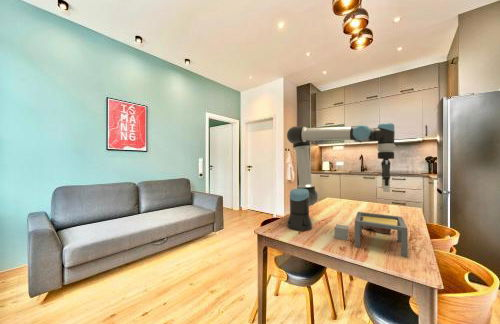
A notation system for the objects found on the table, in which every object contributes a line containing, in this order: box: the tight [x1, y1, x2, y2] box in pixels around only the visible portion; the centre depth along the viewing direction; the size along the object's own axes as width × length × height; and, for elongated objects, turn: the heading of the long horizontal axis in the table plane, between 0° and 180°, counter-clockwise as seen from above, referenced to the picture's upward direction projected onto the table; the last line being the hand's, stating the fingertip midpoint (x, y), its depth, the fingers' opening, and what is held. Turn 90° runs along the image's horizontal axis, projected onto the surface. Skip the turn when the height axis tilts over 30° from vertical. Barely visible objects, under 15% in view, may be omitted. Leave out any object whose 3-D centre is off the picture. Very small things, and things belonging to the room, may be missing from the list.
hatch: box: [363, 216, 397, 226], centre depth 98 cm, size 14×14×1 cm
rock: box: [362, 216, 392, 234], centre depth 117 cm, size 16×11×15 cm
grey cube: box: [334, 223, 349, 242], centre depth 106 cm, size 6×6×6 cm
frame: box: [354, 211, 409, 258], centre depth 98 cm, size 20×20×12 cm
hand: (385, 190), depth 108 cm, fingers open, 13 cm apart
